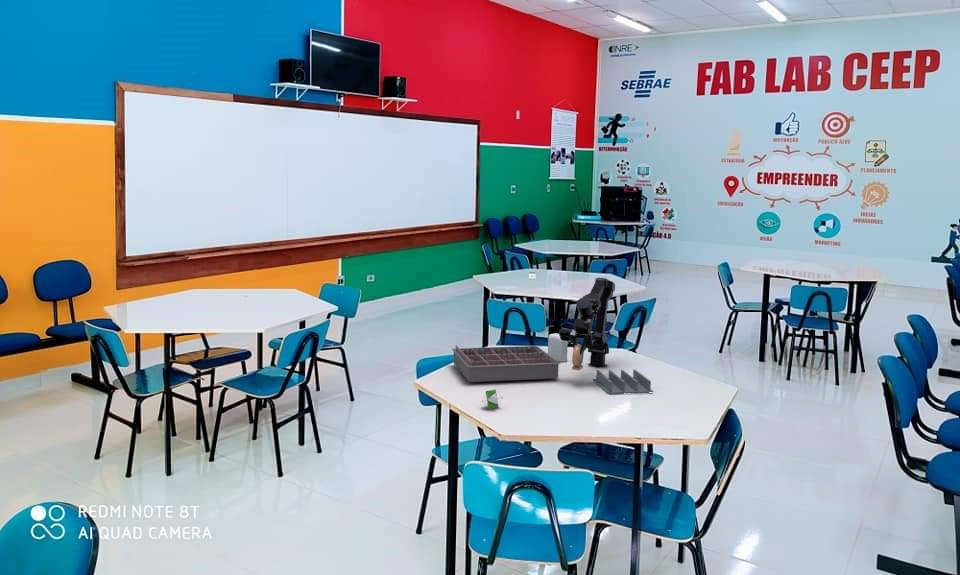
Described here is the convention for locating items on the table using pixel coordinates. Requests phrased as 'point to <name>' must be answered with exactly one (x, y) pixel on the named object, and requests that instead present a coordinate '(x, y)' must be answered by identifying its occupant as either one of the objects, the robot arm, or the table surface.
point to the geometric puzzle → (492, 398)
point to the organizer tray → (505, 363)
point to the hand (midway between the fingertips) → (577, 353)
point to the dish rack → (623, 383)
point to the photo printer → (557, 348)
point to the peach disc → (577, 358)
